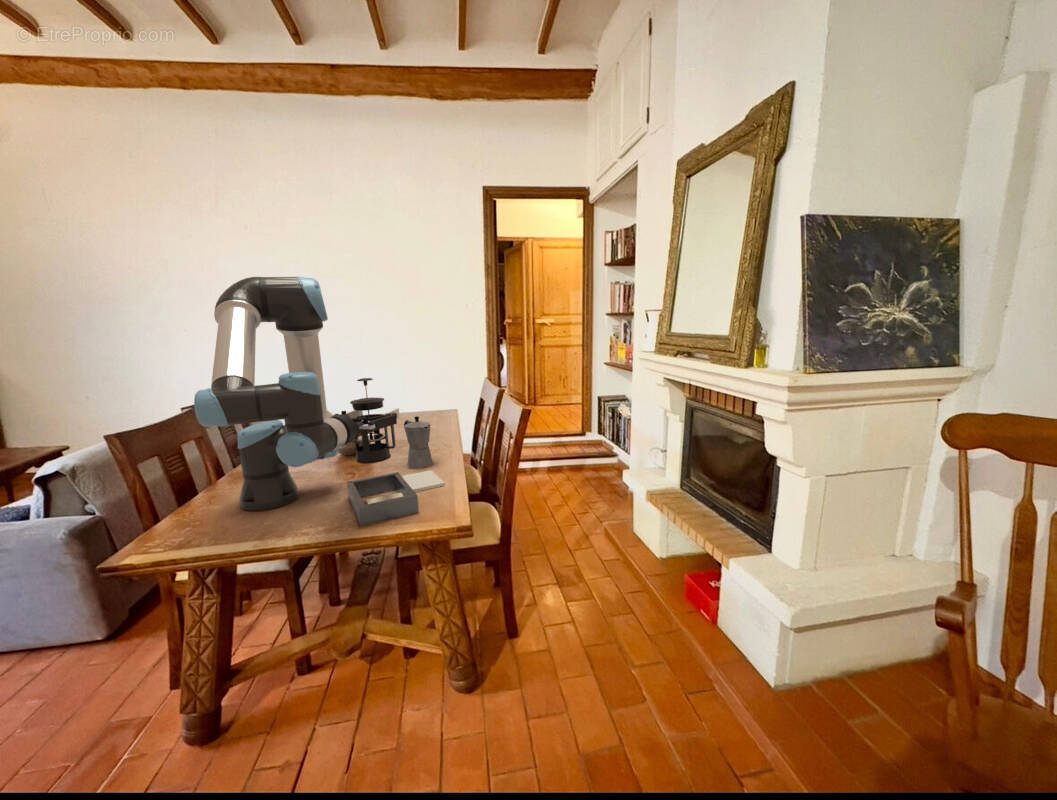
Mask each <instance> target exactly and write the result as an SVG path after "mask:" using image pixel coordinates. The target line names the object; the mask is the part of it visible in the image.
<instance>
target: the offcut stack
mask: <svg viewBox="0 0 1057 800" xmlns="http://www.w3.org/2000/svg"><path fill="white" fill-rule="evenodd" d="M398 497H403V495H402V493H398V492H397V493H393V494H387V495H382V496H378V497H373V498H371V497H370V498H367V499H366V504H371V503H375V502H380V501H384V500H389V499H394V498H398Z"/></svg>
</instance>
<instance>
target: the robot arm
mask: <svg viewBox="0 0 1057 800" xmlns="http://www.w3.org/2000/svg"><path fill="white" fill-rule="evenodd" d="M213 316H214V317H213V318H214V320H215V322H216V323H217V332H216V341H215V348H214V349H215V351H214V358H213V364H212V365H213V366H212V367H213V369H212V374H211V375H212V376H211V384H210V388H208V387H207V388H206V389H205V388H204V389H200V390H198V391H197V392H196V393H194V400H193V405H194V412H195V416H196V420H197V422H198V423H199V424H200V425H201V426H203V427H206V428H209V427H211V428H212V427H213V428H215V427H228V426H235V425H241V424H242V425H243V424H250V423H251V424H252V423H254V424H252V425H249V426H247V427H245V428H243V429H241V430H240V431H238V433H237V435H236V436H237V439H236V440H237V450H238V452H239V460H240V465H241V466H240V467H241V472H242V478H243V479H242V480H243V482H242V486H241V490H240V495H239V499H238V500H239V505H240V509H242V510H244V511H247V512H248V511H249V512H258V511H267V510H273V509H276V508H279V507H280V508H281V507H282V506H283V507H284V506H285V505H287V504H290V503H293V502H294V501H295V500H297V498H299V495H300V494H299V488H298V486H297V484H296V482H295V480H294V479H293V478H294V477H293V476H292V475H291V473H290V469H289V467H292V468H299V467H303V466H306V465H307V464H312V463H314V462H315V461H318V460H322V461H323V460H325V459H330V458H334V457H336V456H337V455H338V454H339V451H340V450H339V449H340V448H341V447H343V446H345V445H347V444H350V443H351V442H353V441H354V440H355V436H356V434H360V433H361V432H363V431H367V430H368V433H370V432H372V433H374V431H376V430H378V429H380V430H381V429H384V428H385V427H387V428H388V427H391V426H392V425H394V426H395V425H397V424H398V421H397V419H399V418H400V407H398V408H396V407H395V408H394V409H392V410H390V411H387V412H385V414H383V415H381V416H376V417H371V418H367V417H361V418H357V417H358V416H363V414H364V412H363V411H355V410H354V409H353V410H351V411H348V412H347V411H346V410H341V412H340V413H341V414H339V413H335V414H333V413H332V412H330V411H328V408H327V407H328V406H327V400H326V399H327V398H326V392H325V391H326V390H325V384H324V383H325V382H324V375H323V366H322V365H323V364H322V357H321V350H320V349H321V348H320V340H319V339H320V338H319V333H320V331H321V330H323V328H324V324H323V323H324V322H326V321H328V319H329V318H328V314H327V309H326V306H325V302H324V297H323V294H322V290H321V286H320V283H319V281H318V280H317V279H315V278H313V277H304V276H252V277H251V276H250V277H246V278H243V279H240V280H238V281H237V282H234V283H233V284H231V285H230V286H229V287H228V288H226V289H225V290H224V291H223V292H222V294H220V296H219V298H218V299H217V301H216V304H215V305H214V315H213ZM261 323H275V329H276V331H278V332H280V333H281V334H282V336H283V340H284V341H283V342H284V347H285V355H286V356H285V357H286V362H287V367H288V369H287V370H288V373H283V374H281V375H279V376H278V382H277V383H270V384H269V383H268V384H260V385H259V384H258V385H255V383H256V382H255V376H256V375H255V374H256V373H255V371H256V370H255V369H256V367H255V366H256V342H257V341H256V336H257V335H256V333H257V330H256V329H258V328H259V326H260V324H261ZM282 420H284V422H283V421H282ZM362 421H363V422H364V424H363V422H362ZM255 423H256V424H255Z"/></svg>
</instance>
